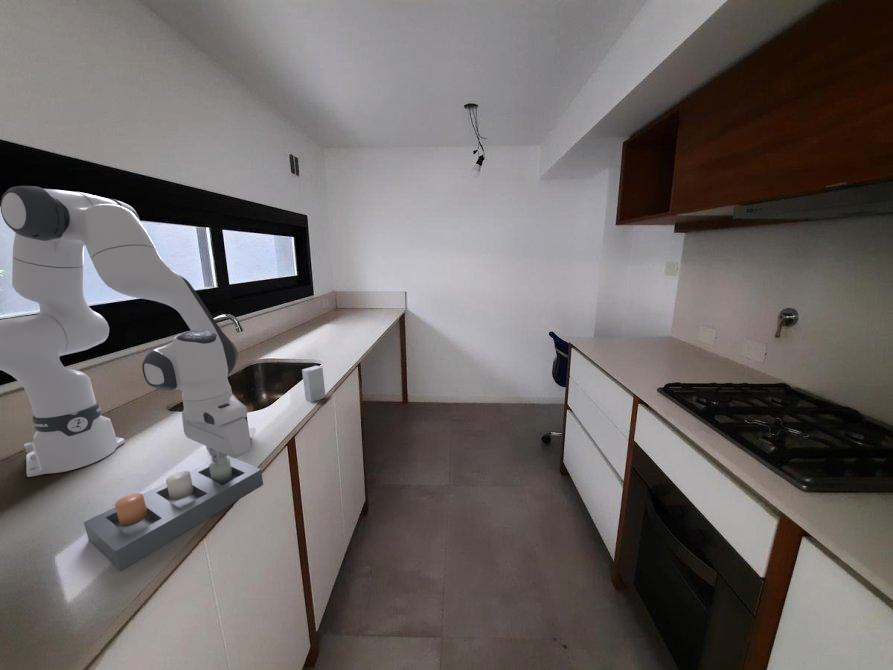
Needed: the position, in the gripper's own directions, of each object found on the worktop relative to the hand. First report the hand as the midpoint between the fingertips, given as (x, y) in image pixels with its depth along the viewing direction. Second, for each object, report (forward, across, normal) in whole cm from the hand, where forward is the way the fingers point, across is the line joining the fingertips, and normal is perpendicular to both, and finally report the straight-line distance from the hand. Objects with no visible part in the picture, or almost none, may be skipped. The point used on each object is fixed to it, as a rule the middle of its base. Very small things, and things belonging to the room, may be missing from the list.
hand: (220, 462), depth 79 cm
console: (+6, 0, -8) cm, 10 cm away
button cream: (+3, 0, -8) cm, 9 cm away
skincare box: (+7, -23, +46) cm, 52 cm away
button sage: (+4, 0, 0) cm, 4 cm away
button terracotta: (+3, 0, -16) cm, 16 cm away
